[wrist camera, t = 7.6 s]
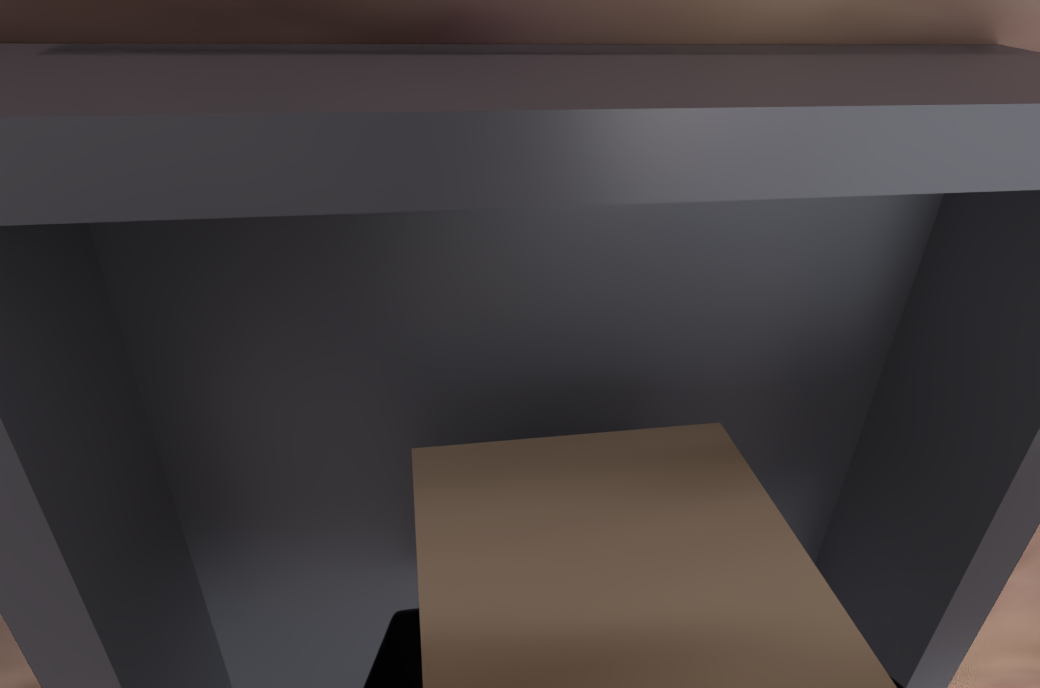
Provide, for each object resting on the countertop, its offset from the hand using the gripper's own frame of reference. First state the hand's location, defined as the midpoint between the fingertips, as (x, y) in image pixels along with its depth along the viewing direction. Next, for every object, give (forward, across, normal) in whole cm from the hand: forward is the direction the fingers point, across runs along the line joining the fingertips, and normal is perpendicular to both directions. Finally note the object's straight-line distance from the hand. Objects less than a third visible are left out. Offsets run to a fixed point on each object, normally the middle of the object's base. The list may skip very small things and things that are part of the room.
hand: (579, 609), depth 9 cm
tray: (+3, 0, 0) cm, 3 cm away
